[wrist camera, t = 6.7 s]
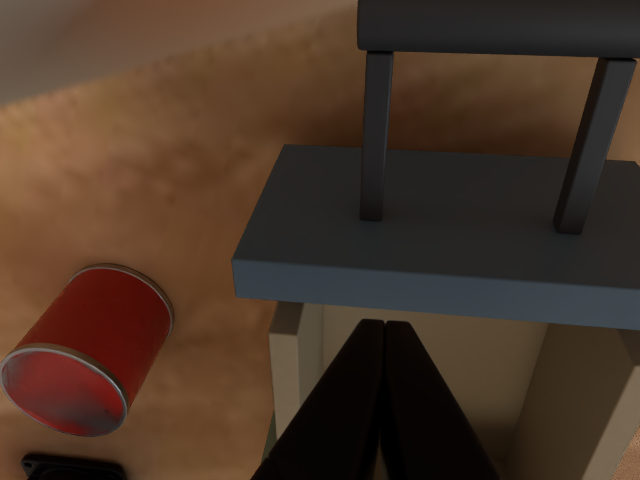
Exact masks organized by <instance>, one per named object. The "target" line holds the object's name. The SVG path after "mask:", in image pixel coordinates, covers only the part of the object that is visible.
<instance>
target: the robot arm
mask: <svg viewBox="0 0 640 480" xmlns="http://www.w3.org/2000/svg"><path fill="white" fill-rule="evenodd" d="M379 435H380V459H381V471H382V480H502V476H501V474H500V473H499V471H498V469H497V468H496V466H495V464H494V463H493V461H492V459H491V458H490V456H489V454H488V453H487V451H486V449H485V448H484V446H483V444H482V443H481V441H480V439H479V438H478V436H477V434H476V432H475V431H474V429H473V427H472V426H471V424H470V422H469V421H468V419H467V417H466V416H465V414H464V412H463V411H462V409H461V407H460V406H459V404H458V402H457V401H456V399H455V397H454V396H453V394H452V392H451V391H450V389H449V387H448V385H447V384H446V382H445V380H444V379H443V377H442V375H441V374H440V372H439V370H438V369H437V367H436V365H435V364H434V362H433V360H432V359H431V357H430V355H429V354H428V352H427V350H426V349H425V347H424V345H423V344H422V342H421V340H420V338H419V337H418V335H417V333H416V332H415V330H414V328H413V327H412V325H411V324H410V323H409V322H407V321H395V320H388V321H387V322H386V323H385V322H384V321H383V320H381V319H366V318H364V319H361V320H360V321H359V323H358V324H357V326H356V327H355V329H354V330H353V331H352V333H351V334H350V336H349V337H348V339H347V340H346V342H345V343H344V345H343V346H342V347H341V349H340V350H339V352H338V353H337V355H336V356H335V358H334V359H333V361H332V362H331V363H330V365H329V366H328V368H327V369H326V371H325V372H324V374H323V375H322V377H321V378H320V379H319V381H318V382H317V384H316V385H315V387H314V388H313V390H312V391H311V393H310V394H309V395H308V397H307V398H306V400H305V401H304V403H303V404H302V406H301V407H300V408H299V410H298V411H297V413H296V414H295V416H294V417H293V419H292V420H291V422H290V423H289V424H288V426H287V427H286V429H285V430H284V432H283V433H282V435H281V436H280V438H279V439H278V440H277V442H276V443H275V445H274V446H273V448H272V449H271V451H270V452H269V454H268V457H266V458H265V459H264V460H263V462H262V463H261V465H260V466H259V468H258V469H257V471H256V472H255V474H254V475H253V476H252V478H251V479H250V480H373V479H374V473H375V467H376V461H377V455H378V447H379ZM21 465H22V467H23V469H24V471H25V473H26V474H27V476H28V479H27V480H127V478H126V476H125V473H124V470H123V469H122V468H121V467H120V466H118V465H114V464H106V463H98V462H89V461H81V460H73V459H64V458H56V457H48V456H40V455H31V454H27V455H25V456H24V457H23V459H22V460H21Z"/></svg>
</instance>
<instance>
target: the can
mask: <svg viewBox="0 0 640 480" xmlns="http://www.w3.org/2000/svg"><path fill="white" fill-rule="evenodd" d="M173 324H174V314H173V309H172V306H171V304H170V302H169V300H168V298H167V297H166V295H165V294H164V293H163V291H162V290H161V289H160V288H159V287H158V286H157V285H156V284H155V283H153V282H152V281H151V280H150V279H148V278H147V277H145V276H144V275H142V274H140V273H138V272H136V271H134V270H132V269H129V268H126V267H123V266H119V265H113V264H95V265H91V266H88V267H85V268H83V269H81V270H80V271H78V272H77V273H76V274H75V275H74V276H73V277H72V278H71V280H70V281H69V283H68V285H67V286H66V287H65V288H64V290H63V291H62V292H61V293H60V294H59V296H58V297H57V298H56V299H55V300H54V302H53V303H52V304H51V305H50V306H49V308H48V309H47V310H46V311H45V312H44V314H43V315H42V316H41V317H40V318H39V320H38V321H37V322H36V323H35V324H34V326H33V327H32V328H31V329H30V330H29V332H28V333H27V334H26V335H25V336H24V337H23V339H22V340H21V341H20V342H19V343H18V345H17V346H16V347H15V348H14V349H13V350H12V351H11V352H9V353H8V354H7V356H6V357H5V358H4V359H3V361H2V362H1V364H0V384H1V387H2V389H3V391H4V393H5V394H6V396H7V397H8V398H9V400H10V401H11V402H12V403H13V404H14V405H15V406H16V407H17V408H18V409H19V410H20V411H22V412H23V413H24V414H26V415H27V416H28V417H30V418H32V419H33V420H35V421H37V422H38V423H40V424H42V425H44V426H46V427H48V428H51V429H54V430H56V431H59V432H62V433H66V434H70V435H76V436H85V437H94V436H102V435H106V434H109V433H111V432H113V431H115V430H117V429H118V428H119V427H120V426H121V425H122V424H123V423H124V421H125V419H126V417H127V415H128V413H129V409H130V407H131V405H132V403H133V401H134V399H135V397H136V395H137V393H138V392H139V390H140V388H141V386H142V384H143V382H144V380H145V378H146V376H147V374H148V372H149V370H150V368H151V367H152V365H153V363H154V361H155V359H156V357H157V355H158V353H159V351H160V349H161V347H162V345H163V343H164V342H165V340H166V339H167V337H168V336H169V334H170V332H171V330H172V328H173Z"/></svg>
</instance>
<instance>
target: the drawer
mask: <svg viewBox="0 0 640 480" xmlns="http://www.w3.org/2000/svg"><path fill="white" fill-rule="evenodd" d="M357 46H358V49H360V50H364V51H367V54H366V69H365V93H364V116H363V139H362V148H354V147H334V146H313V145H293V144H284V145H283V147H282V150H281V152H280V154H279V156H278V158H277V161H276V163H275V165H274V167H273V169H272V171H271V174H270V176H269V178H268V180H267V182H266V185H265V187H264V189H263V191H262V193H261V196H260V198H259V200H258V202H257V204H256V207H255V209H254V211H253V213H252V215H251V218H250V220H249V222H248V224H247V226H246V228H245V231H244V233H243V235H242V237H241V239H240V242H239V244H238V246H237V248H236V250H235V253H234V255H233V257H232V259H231V262H232V270H233V278H234V287H235V295H236V297H238V298H250V299H263V300H275V301H278V302H277V305H276V309H275V312H274V315H273V319H272V322H271V325H270V329H269V332H268V338H269V351H270V363H271V375H272V388H273V400H274V412H275V425H276V437H277V440H278V439H279V438H280V436H281V435H282V433H283V432H284V430H285V429H286V427H287V426H288V424H289V423H290V422H291V420H292V419H293V417H294V416H295V414H296V413H297V411H298V410H299V408H300V407H301V406H302V404H303V403H304V401H305V400H306V398H307V397H308V395H309V394H310V393H311V391H312V390H313V388H314V387H315V385H316V384H317V382H318V381H319V379H320V378H321V377H322V375H323V374H324V372H325V371H326V369H327V368H328V366H329V365H330V363H331V362H332V361H333V359H334V358H335V356H336V355H337V353H338V352H339V350H340V349H341V347H342V346H343V345H344V343H345V342H346V340H347V339H348V337H349V336H350V334H351V333H352V331H353V330H354V329H355V327H356V326H357V324H358V323H359V321H360V320H361V319H364V318H366V319H381V320H383V321H384V322H385V323H386V322H387V321H388V320H395V321H407V322H409V323H410V324H411V325H412V327H413V328H414V330H415V332H416V333H417V335H418V337H419V338H420V340H421V342H422V344H423V345H424V347H425V349H426V350H427V352H428V354H429V355H430V357H431V359H432V360H433V362H434V364H435V365H436V367H437V369H438V370H439V372H440V374H441V375H442V377H443V379H444V380H445V382H446V384H447V385H448V387H449V389H450V391H451V392H452V394H453V396H454V397H455V399H456V401H457V402H458V404H459V406H460V407H461V409H462V411H463V412H464V414H465V416H466V417H467V419H468V421H469V422H470V424H471V426H472V427H473V429H474V431H475V432H476V434H477V436H478V438H479V439H480V441H481V443H482V444H483V446H484V448H485V449H486V451H487V453H488V454H489V456H490V458H491V459H492V461H493V463H494V464H495V466H496V468H497V469H498V471H499V473H500V474H501V476H502V480H611V478H612V476H613V474H614V472H615V470H616V468H617V466H618V464H619V462H620V461H621V459H622V457H623V455H624V453H625V451H626V449H627V447H628V445H629V443H630V441H631V440H632V438H633V436H634V434H635V432H636V430H637V428H638V426H639V424H640V167H639V165H638V164H637V163H636V162H635V161H620V160H605V159H606V156H607V153H608V150H609V147H610V144H611V141H612V138H613V135H614V132H615V128H616V125H617V122H618V119H619V116H620V113H621V110H622V107H623V104H624V101H625V98H626V94H627V91H628V88H629V85H630V82H631V79H632V76H633V73H634V70H635V67H636V64H637V62H636V60H634V59H633V58H640V0H358V9H357ZM394 51H398V52H433V53H468V54H503V55H537V56H572V57H599V58H598V62H597V65H596V69H595V73H594V76H593V80H592V83H591V87H590V90H589V94H588V97H587V101H586V104H585V108H584V111H583V115H582V118H581V122H580V125H579V129H578V133H577V136H576V140H575V143H574V147H573V150H572V154H571V157H570V158H559V157H538V156H518V155H497V154H477V153H457V152H436V151H416V150H395V149H387V143H388V129H389V115H390V101H391V87H392V73H393V59H394ZM373 480H382V471H381V459H380V435H379V447H378V455H377V461H376V467H375V473H374V479H373Z"/></svg>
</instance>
